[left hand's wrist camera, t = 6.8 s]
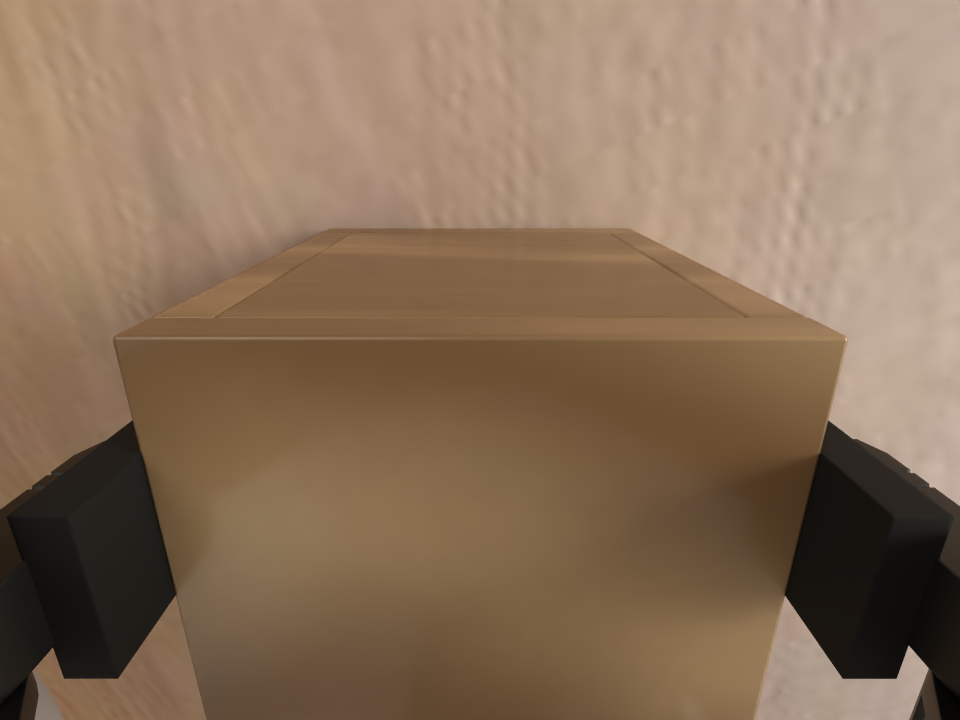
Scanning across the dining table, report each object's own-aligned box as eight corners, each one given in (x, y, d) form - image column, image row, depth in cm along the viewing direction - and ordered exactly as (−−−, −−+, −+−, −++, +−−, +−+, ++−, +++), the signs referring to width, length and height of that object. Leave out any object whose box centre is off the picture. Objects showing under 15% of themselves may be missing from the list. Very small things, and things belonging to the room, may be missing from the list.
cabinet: (595, 606, 24) (691, 979, 13) (364, 606, 24) (268, 979, 13) (631, 228, 18) (851, 336, 8) (328, 228, 18) (110, 336, 8)
